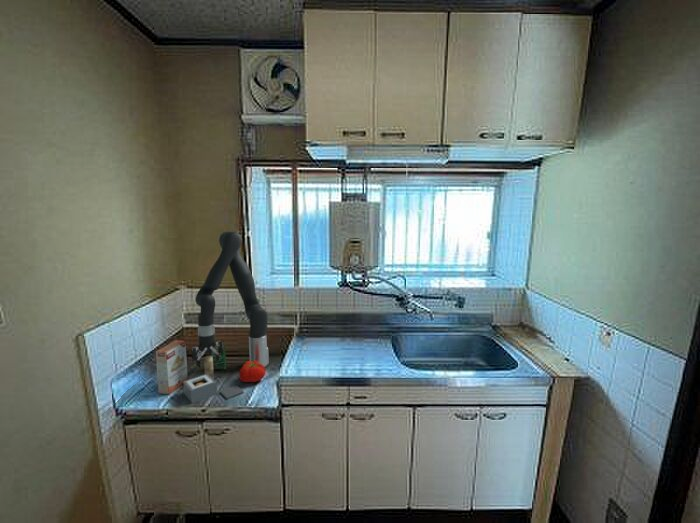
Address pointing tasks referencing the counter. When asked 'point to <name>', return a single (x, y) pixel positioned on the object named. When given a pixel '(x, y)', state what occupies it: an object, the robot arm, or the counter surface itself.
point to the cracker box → (171, 366)
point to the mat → (231, 392)
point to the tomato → (252, 371)
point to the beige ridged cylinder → (209, 366)
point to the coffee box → (222, 358)
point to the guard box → (200, 388)
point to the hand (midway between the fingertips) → (207, 364)
